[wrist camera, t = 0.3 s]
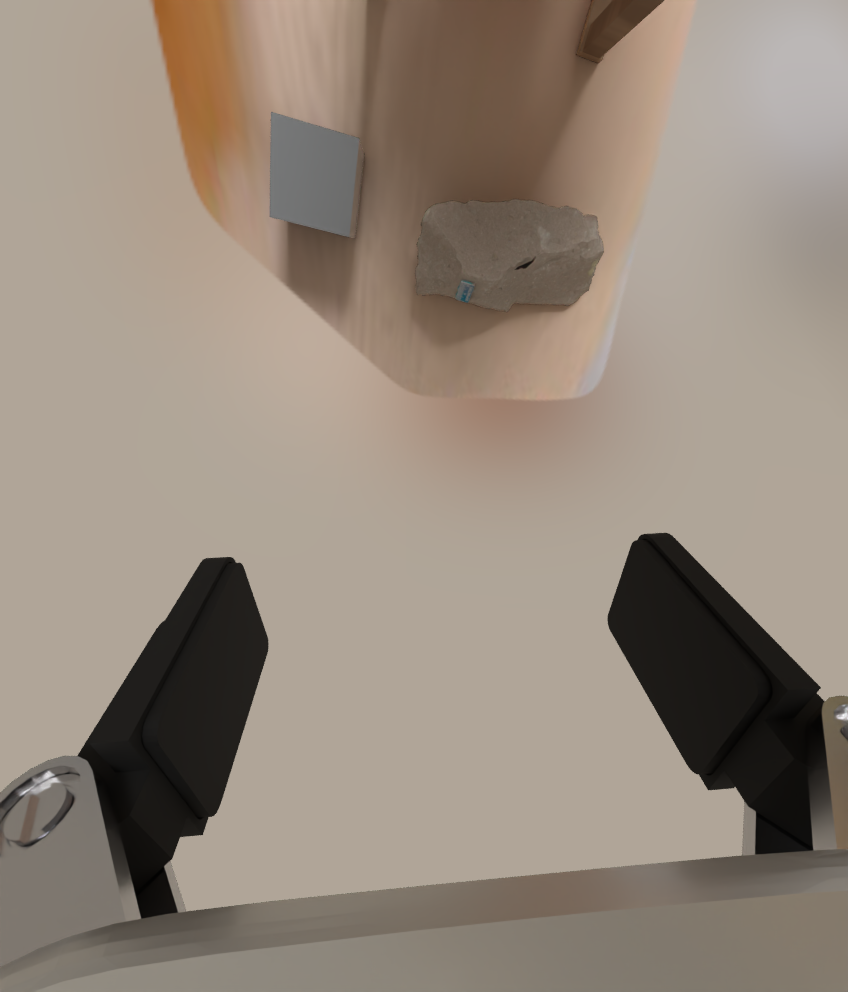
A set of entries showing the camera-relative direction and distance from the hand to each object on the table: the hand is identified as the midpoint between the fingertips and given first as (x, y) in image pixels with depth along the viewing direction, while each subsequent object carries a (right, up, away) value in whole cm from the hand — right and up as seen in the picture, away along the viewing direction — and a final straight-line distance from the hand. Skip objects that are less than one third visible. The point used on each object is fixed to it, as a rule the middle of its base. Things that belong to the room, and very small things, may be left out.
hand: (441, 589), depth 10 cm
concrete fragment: (+6, +21, +22) cm, 31 cm away
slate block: (-7, +24, +19) cm, 32 cm away
